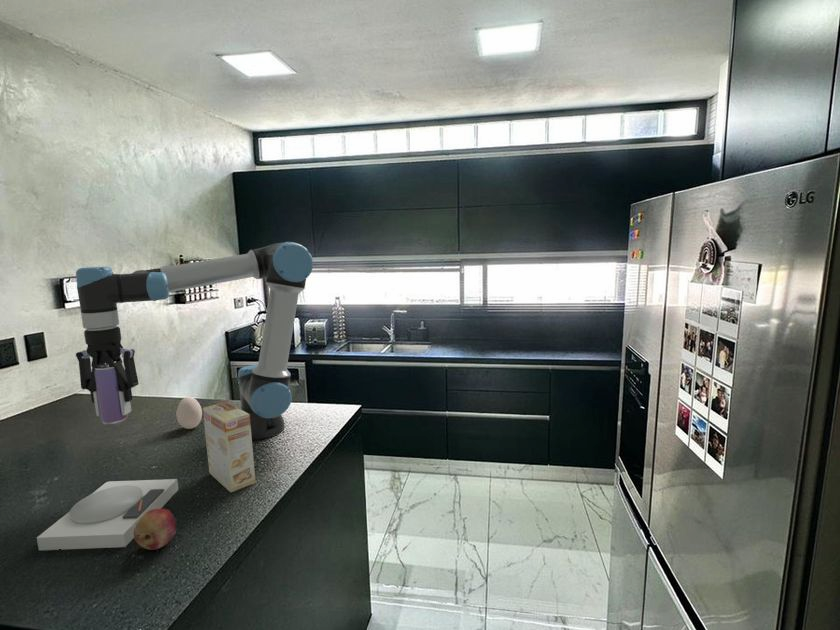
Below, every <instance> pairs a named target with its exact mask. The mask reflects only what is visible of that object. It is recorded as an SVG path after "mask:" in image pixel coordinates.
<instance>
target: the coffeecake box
mask: <svg viewBox="0 0 840 630" xmlns="http://www.w3.org/2000/svg"><path fill="white" fill-rule="evenodd" d="M202 417H203V423H204V435H205V444H206V451H207V461H208V472H209V474H210V475H211V476H212V477H213V478H214V479H215V481H217V482H218V483H220V484H221V485H222V486H223V488H225V489H226V490H227V491H228V492H229V493H231V494H232V493H233V492H237V491H239V490H241V489H244V488H246V487H248V486H252V485H253V484H256V483H257V482H256V472H255V460H254V450H253V440H252V436H251V425H250V414H248V413H246V412H245V411H243V410H241V408H239V407H238V406H235V405H234V404H232V403H230V402H229V401H223V402H218V403H216V404H213V405H209V406H205V407H202Z"/></svg>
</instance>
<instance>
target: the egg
mask: <svg viewBox="0 0 840 630" xmlns="http://www.w3.org/2000/svg"><path fill="white" fill-rule="evenodd" d="M175 417H176V420H177V422H178V424H179V425H180V426H181V427H182V428H183V429H187V430H192V429H195V428H196V427H197V426H198V425H199V424H200V423H201V420H202V417H203V408H202V406H201V405H200V403H199V401H198V400H197V399H196V398H194V397H191V396H186V397H184V398H182V399H181V400H180V402H179V403H178V406H177V408H176V416H175Z"/></svg>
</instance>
